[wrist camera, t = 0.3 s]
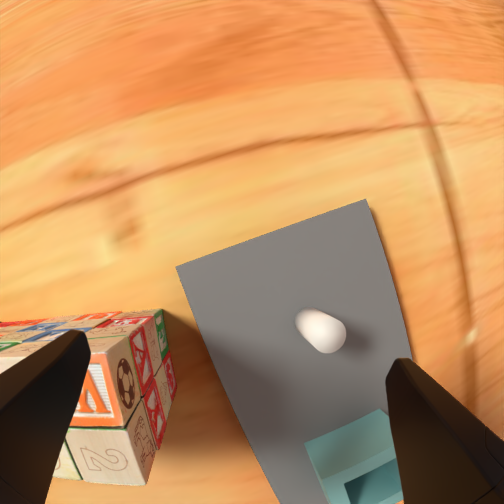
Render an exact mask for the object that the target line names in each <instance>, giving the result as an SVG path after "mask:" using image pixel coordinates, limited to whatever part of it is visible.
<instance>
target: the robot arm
mask: <svg viewBox="0 0 504 504" xmlns="http://www.w3.org/2000/svg"><path fill="white" fill-rule="evenodd" d="M90 359H91V350H90V347H89V343H88V340H87V337H86V334H85V332H84V331H81V330H76V329H71V330H69V331H67V332H66V333H64V334H62V335H61V336H59V337H58V338H56V339H54V340H53V341H51V342H49V343H48V344H46V345H45V346H43V347H42V348H40V349H38V350H37V351H35V352H34V353H32V354H30V355H29V356H27V357H26V358H24V359H23V360H21V361H19V362H18V363H16V364H15V365H13V366H12V367H10V368H8V369H7V370H5V371H4V372H2V373H1V374H0V504H45V501H46V497H47V494H48V490H49V487H50V483H51V480H52V477H53V474H54V470H55V467H56V464H57V461H58V458H59V455H60V452H61V449H62V446H63V443H64V440H65V437H66V434H67V432H68V429H69V426H70V423H71V421H72V418H73V415H74V412H75V410H76V407H77V404H78V402H79V398H80V395H81V391H82V387H83V384H84V380H85V376H86V373H87V369H88V366H89V362H90ZM385 386H386V394H387V403H388V412H389V422H390V429H391V434H392V439H393V444H394V449H395V454H396V459H397V464H398V470H399V475H400V481H401V487H402V493H403V500H404V504H504V441H503V440H501V439H500V438H499V437H498V436H497V435H496V434H495V433H493V432H492V431H491V430H490V429H489V428H488V427H487V426H485V425H484V424H483V423H482V422H481V421H480V420H479V419H478V418H477V417H476V416H475V415H473V414H472V413H471V412H470V411H469V410H468V409H467V408H466V407H464V406H463V405H462V404H461V403H460V402H459V401H458V400H457V399H455V398H454V397H453V396H452V395H451V394H450V393H449V392H448V391H446V390H445V389H444V388H443V387H442V386H441V385H440V384H438V383H437V382H436V381H435V380H434V379H433V378H432V377H430V376H429V375H428V374H427V373H426V372H425V371H424V370H422V369H421V368H420V367H419V366H418V365H417V364H416V363H414V362H413V361H412V360H411V359H410V358H396V359H395V360H394V362H393V364H392V366H391V368H390V370H389V372H388V374H387V376H386V379H385Z"/></svg>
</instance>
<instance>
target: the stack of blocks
mask: <svg viewBox="0 0 504 504" xmlns="http://www.w3.org/2000/svg"><path fill="white" fill-rule="evenodd" d="M71 329H76V330H81V331H84V332H85V334H86V337H87V340H88V343H89V347H90V350H91V359H90V362H89V366H88V369H87V373H86V376H85V380H84V384H83V387H82V391H81V395H80V398H79V402H78V404H77V407H76V410H75V412H74V415H73V418H72V421H71V423H70V426H69V429H68V432H67V434H66V437H65V440H64V443H63V446H62V449H61V452H60V455H59V458H58V461H57V464H56V467H55V470H54V474H53V477H56V478H63V479H71V480H85V481H86V482H89V483H98V484H111V485H128V486H143V485H146V484H147V481H148V478H149V474H150V471H151V467H152V464H153V460H154V457H155V452H156V450H159V449H160V446H161V443H162V439H163V435H164V432H165V428H166V421H167V418H168V414H169V411H170V407H171V403H172V401H173V399H174V395H175V392H176V389H177V384H176V379H175V375H174V370H173V365H172V360H171V355H170V351H169V348H168V342H167V336H166V330H165V324H164V318H163V311H162V309H151V310H142V311H131V312H121V311H119V312H109V313H98V314H87V315H71V316H59V317H53V318H51V319H39V320H26V321H18V322H2V323H1V322H0V374H1V373H2V372H4V371H5V370H7V369H8V368H10V367H12V366H13V365H15V364H16V363H18V362H19V361H21V360H23V359H24V358H26V357H27V356H29V355H30V354H32V353H34V352H35V351H37V350H38V349H40V348H42V347H43V346H45V345H46V344H48V343H49V342H51V341H53V340H54V339H56V338H58V337H59V336H61V335H62V334H64V333H66V332H67V331H69V330H71Z"/></svg>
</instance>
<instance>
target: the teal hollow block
mask: <svg viewBox="0 0 504 504" xmlns="http://www.w3.org/2000/svg"><path fill="white" fill-rule="evenodd" d="M304 445H305V448H306V450H307V453H308V455H309V458H310V460H311V463H312V465H313V468H314V470H315V472H316V475H317V477H318V480H319V482H320V485H321V487H322V490H323V492H324V494H325V497H326V499H327V501H328V503H329V504H395V503H397V502H399V501H401V500H403V493H402V487H401V481H400V475H399V470H398V464H397V459H396V454H395V449H394V444H393V439H392V434H391V429H390V422H389V417H388V416H387V415H386V414H385V413H384V412H383V411H382V410H381V409H380V408H379V409H378V410H376V411H374V412H372V413H370V414H368V415H366V416H364V417H362V418H360V419H358V420H356V421H354V422H351V423H349V424H347V425H345V426H343V427H341V428H339V429H336V430H334V431H332V432H330V433H327V434H325V435H323V436H320V437H318V438H315V439H313V440H311V441H308V442H306V443H304Z"/></svg>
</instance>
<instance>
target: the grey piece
mask: <svg viewBox="0 0 504 504" xmlns="http://www.w3.org/2000/svg"><path fill="white" fill-rule="evenodd" d="M176 270H177V272H178V275H179V278H180V281H181V283H182V286H183V289H184V291H185V294H186V297H187V299H188V302H189V305H190V307H191V310H192V312H193V315H194V318H195V320H196V323H197V325H198V328H199V330H200V333H201V335H202V338H203V340H204V343H205V345H206V348H207V350H208V352H209V355H210V357H211V360H212V362H213V364H214V367H215V369H216V371H217V374H218V376H219V378H220V381H221V383H222V385H223V387H224V390H225V392H226V394H227V396H228V399H229V401H230V403H231V405H232V408H233V410H234V412H235V414H236V416H237V418H238V421H239V423H240V425H241V427H242V429H243V431H244V433H245V435H246V437H247V440H248V442H249V444H250V446H251V448H252V450H253V452H254V454H255V456H256V458H257V460H258V462H259V464H260V466H261V468H262V470H263V472H264V474H265V476H266V478H267V480H268V481H269V483H270V485H271V487H272V489H273V491H274V493H275V495H276V497H277V498H278V500H279V502H280V504H329V503H328V501H327V499H326V497H325V494H324V492H323V490H322V487H321V485H320V482H319V480H318V477H317V475H316V472H315V470H314V468H313V465H312V463H311V460H310V458H309V455H308V453H307V450H306V448H305V445H304V443H306V442H308V441H311V440H313V439H315V438H318V437H320V436H323V435H325V434H327V433H330V432H332V431H334V430H336V429H339V428H341V427H343V426H345V425H347V424H349V423H351V422H354V421H356V420H358V419H360V418H362V417H364V416H366V415H368V414H370V413H372V412H374V411H376V410H378V409H379V408H380V409H381V410H382V411H383V412H384V413H385V414H386V415H387V416H388V417H389V412H388V403H387V394H386V386H385V379H386V376H387V374H388V372H389V370H390V368H391V366H392V364H393V362H394V360H395V359H396V358H410V359H411V360H412V355H411V350H410V346H409V341H408V337H407V333H406V329H405V325H404V320H403V316H402V313H401V309H400V305H399V301H398V297H397V294H396V290H395V287H394V283H393V280H392V276H391V273H390V269H389V266H388V263H387V259H386V256H385V253H384V250H383V247H382V244H381V241H380V238H379V235H378V232H377V229H376V226H375V223H374V220H373V217H372V214H371V211H370V209H369V206H368V203H367V200H366V199H364V200H361V201H358V202H355V203H352V204H349V205H346V206H343V207H341V208H338V209H335V210H332V211H329V212H326V213H324V214H321V215H318V216H315V217H312V218H309V219H307V220H304V221H301V222H298V223H295V224H292V225H290V226H287V227H284V228H281V229H278V230H276V231H273V232H270V233H267V234H264V235H262V236H259V237H256V238H253V239H251V240H248V241H245V242H242V243H239V244H237V245H234V246H231V247H228V248H226V249H223V250H220V251H217V252H215V253H212V254H209V255H206V256H204V257H201V258H198V259H195V260H193V261H190V262H187V263H184V264H182V265H179V266H176ZM412 361H413V360H412Z"/></svg>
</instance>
